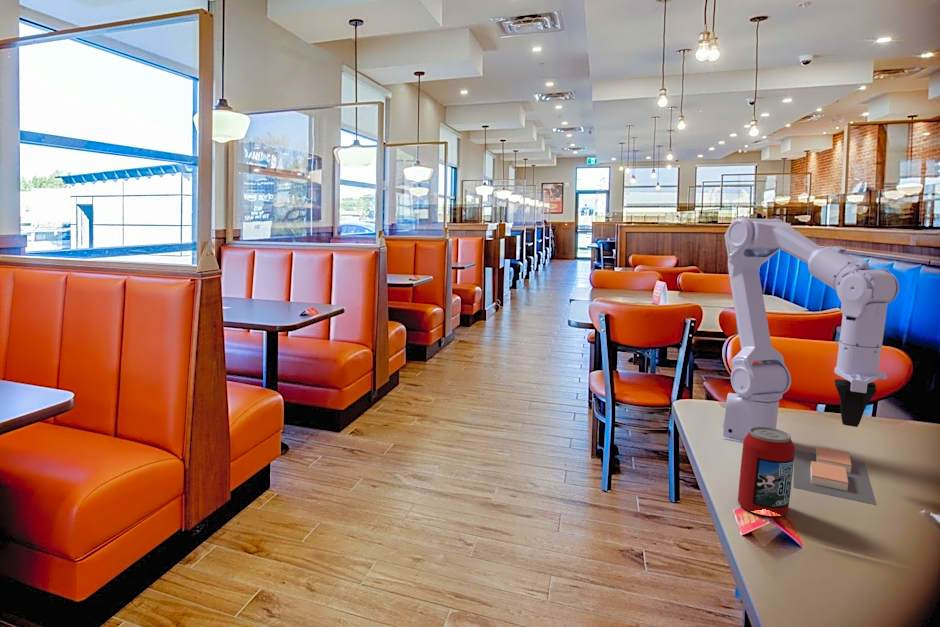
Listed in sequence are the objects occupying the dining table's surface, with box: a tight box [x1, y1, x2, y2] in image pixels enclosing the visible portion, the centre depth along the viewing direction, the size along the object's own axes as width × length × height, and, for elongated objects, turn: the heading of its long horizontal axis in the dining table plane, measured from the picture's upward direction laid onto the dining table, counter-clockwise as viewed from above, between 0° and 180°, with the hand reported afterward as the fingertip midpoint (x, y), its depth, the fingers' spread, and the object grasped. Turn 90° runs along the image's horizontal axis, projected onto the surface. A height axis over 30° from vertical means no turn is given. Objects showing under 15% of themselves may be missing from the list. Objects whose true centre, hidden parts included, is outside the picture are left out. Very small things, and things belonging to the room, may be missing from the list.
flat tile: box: [815, 446, 852, 473], centre depth 103 cm, size 5×7×1 cm
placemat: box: [793, 449, 877, 506], centre depth 98 cm, size 11×19×1 cm, turn 150°
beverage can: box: [737, 427, 796, 517], centre depth 85 cm, size 7×7×12 cm
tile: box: [810, 461, 848, 491], centre depth 96 cm, size 5×1×7 cm
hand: (849, 424), depth 95 cm, fingers closed
